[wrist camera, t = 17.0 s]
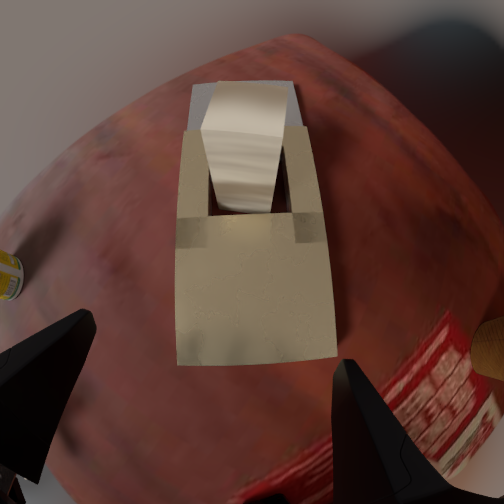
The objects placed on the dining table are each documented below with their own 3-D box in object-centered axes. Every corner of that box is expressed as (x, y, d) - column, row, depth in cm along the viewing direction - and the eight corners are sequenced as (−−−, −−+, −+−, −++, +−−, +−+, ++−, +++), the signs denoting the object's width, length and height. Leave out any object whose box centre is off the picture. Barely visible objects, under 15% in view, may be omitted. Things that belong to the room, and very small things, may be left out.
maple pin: (269, 216, 24) (282, 137, 14) (219, 209, 25) (200, 129, 14) (275, 173, 26) (288, 87, 15) (228, 167, 26) (218, 80, 15)
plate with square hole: (328, 353, 21) (337, 356, 19) (184, 361, 21) (177, 365, 19) (291, 88, 29) (293, 73, 27) (194, 91, 29) (191, 77, 27)
